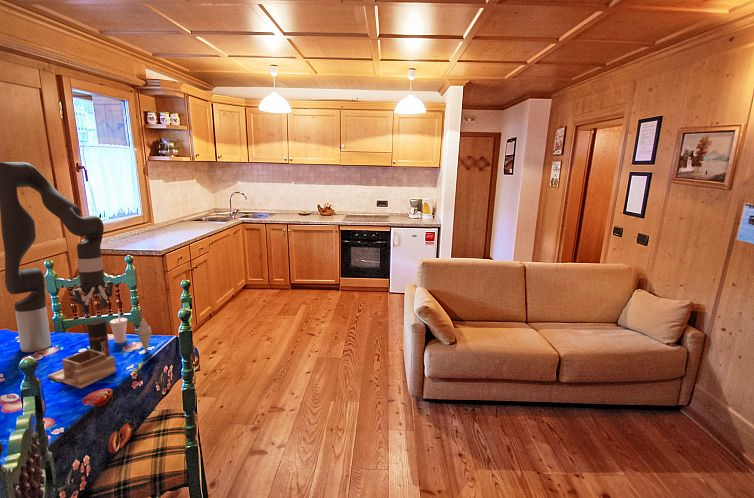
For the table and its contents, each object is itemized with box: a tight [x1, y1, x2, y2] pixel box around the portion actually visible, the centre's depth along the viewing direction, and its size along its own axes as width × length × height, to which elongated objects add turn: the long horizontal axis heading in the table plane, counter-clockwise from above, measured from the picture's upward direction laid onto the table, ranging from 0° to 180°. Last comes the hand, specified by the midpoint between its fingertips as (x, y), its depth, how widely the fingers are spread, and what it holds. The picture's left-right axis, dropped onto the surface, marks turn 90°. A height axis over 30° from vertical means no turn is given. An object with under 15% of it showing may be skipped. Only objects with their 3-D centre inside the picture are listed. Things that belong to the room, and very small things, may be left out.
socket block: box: [61, 348, 107, 380], centre depth 132 cm, size 9×9×6 cm
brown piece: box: [48, 355, 117, 389], centre depth 133 cm, size 17×12×6 cm
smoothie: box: [109, 310, 128, 344], centre depth 160 cm, size 6×6×14 cm
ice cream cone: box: [136, 317, 153, 352], centre depth 152 cm, size 5×5×15 cm
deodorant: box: [86, 318, 111, 357], centre depth 145 cm, size 6×6×15 cm
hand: (95, 310), depth 143 cm, fingers open, 5 cm apart
